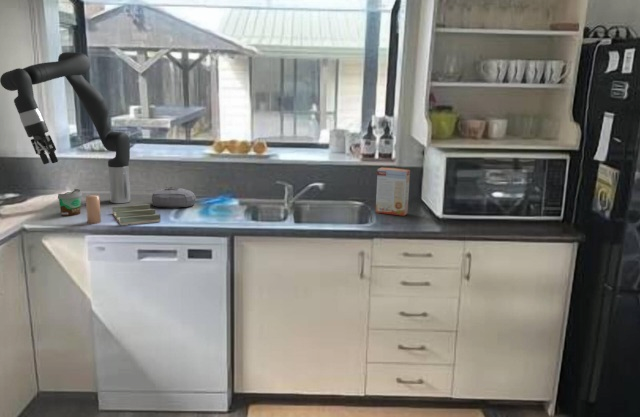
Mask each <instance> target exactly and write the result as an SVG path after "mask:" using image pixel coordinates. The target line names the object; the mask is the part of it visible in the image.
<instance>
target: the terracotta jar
mask: <svg viewBox="0 0 640 417" xmlns="http://www.w3.org/2000/svg"><path fill="white" fill-rule="evenodd" d="M85 204H86V205H85V206H86V218H87V219H86V220H87V224H90V225H92V224H99V223H101V222H102V218H101V216H102V215H101V201H100V195H98V194H88V195H85Z"/></svg>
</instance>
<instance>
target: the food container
mask: <svg viewBox="0 0 640 417" xmlns="http://www.w3.org/2000/svg"><path fill="white" fill-rule="evenodd" d="M82 197H83V192H82V191H81V189H78V188H74V190H72V191H68V192H65V193H58V194H57V199H58V201H59V210H60V214H61V217H74V216H78V215H80V214H81V206H82V204H81V200H82Z"/></svg>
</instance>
